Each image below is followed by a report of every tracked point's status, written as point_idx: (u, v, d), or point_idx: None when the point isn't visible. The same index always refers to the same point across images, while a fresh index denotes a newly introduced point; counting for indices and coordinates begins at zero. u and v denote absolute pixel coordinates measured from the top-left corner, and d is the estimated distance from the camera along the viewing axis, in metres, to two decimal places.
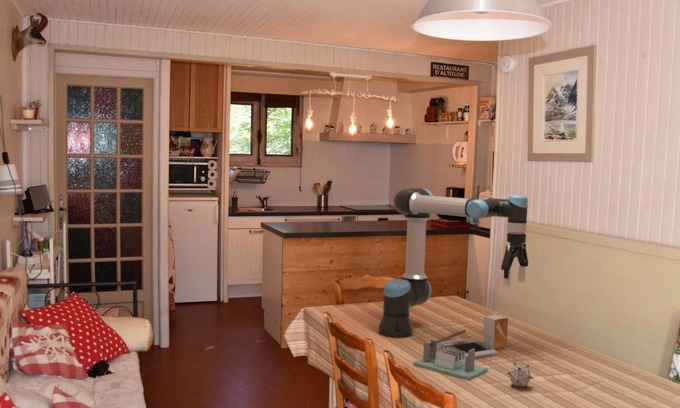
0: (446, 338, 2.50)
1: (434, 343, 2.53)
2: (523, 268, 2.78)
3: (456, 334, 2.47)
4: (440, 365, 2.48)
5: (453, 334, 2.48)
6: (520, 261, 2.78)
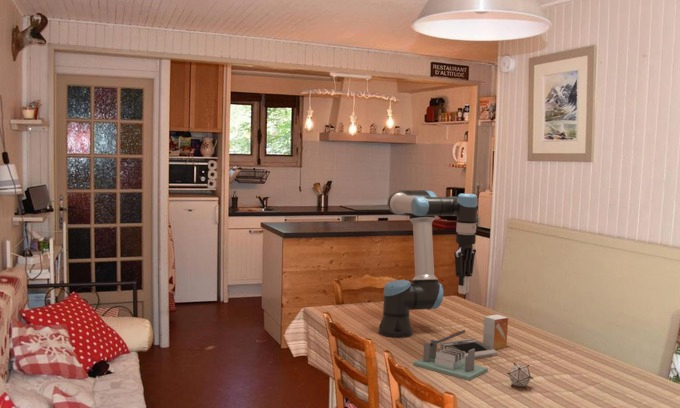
0: (446, 338, 2.50)
1: (434, 343, 2.53)
2: (467, 278, 2.60)
3: (456, 334, 2.47)
4: (440, 365, 2.48)
5: (453, 334, 2.48)
6: (465, 268, 2.61)
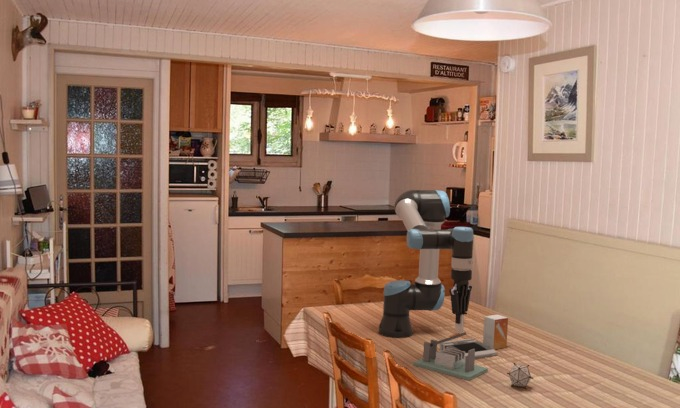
0: (446, 339, 2.49)
1: (434, 343, 2.53)
2: None
3: (457, 336, 2.47)
4: (440, 365, 2.48)
5: (454, 336, 2.47)
6: None
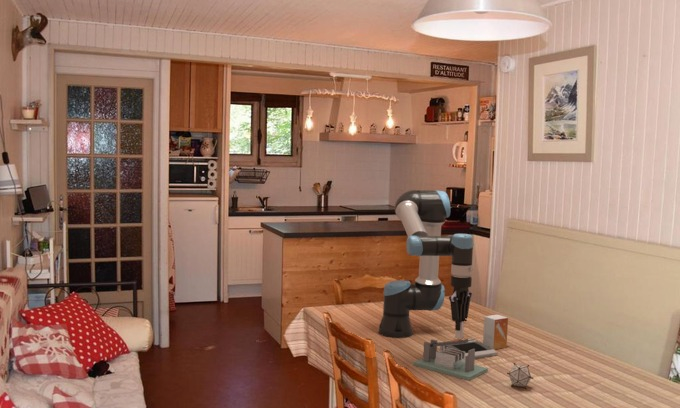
0: (448, 343, 2.49)
1: (435, 345, 2.53)
2: None
3: (459, 342, 2.46)
4: (440, 365, 2.48)
5: (456, 341, 2.47)
6: None
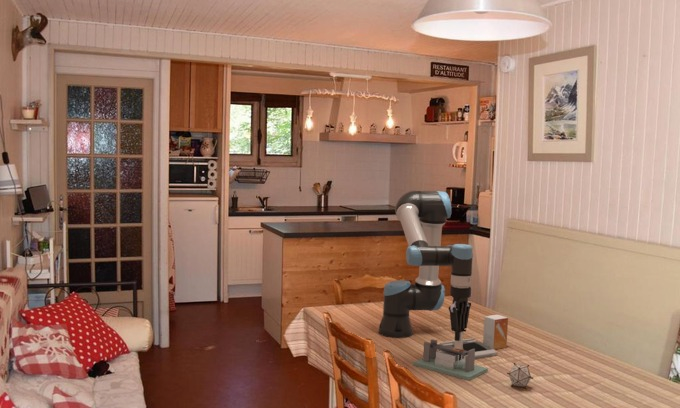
0: (448, 350, 2.49)
1: (435, 347, 2.53)
2: None
3: (460, 353, 2.46)
4: (440, 365, 2.48)
5: (457, 351, 2.47)
6: None
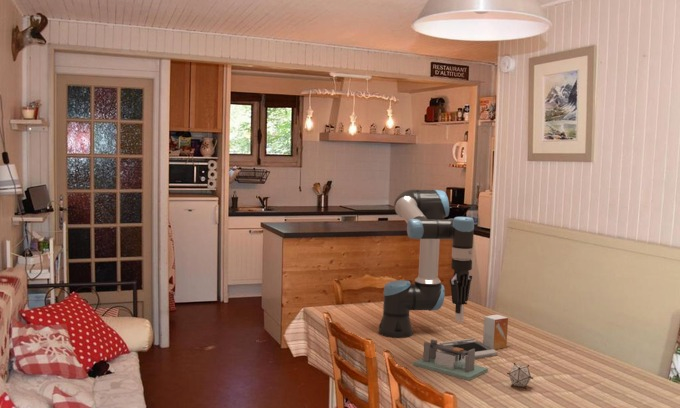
0: (448, 350, 2.49)
1: (435, 347, 2.53)
2: None
3: (460, 353, 2.46)
4: (440, 365, 2.48)
5: (457, 351, 2.47)
6: None
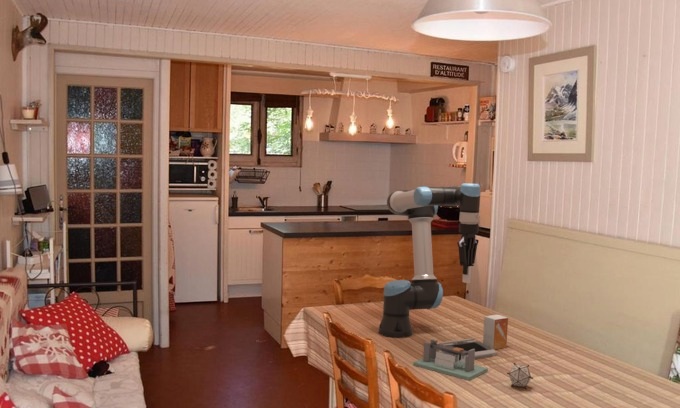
0: (448, 350, 2.49)
1: (435, 347, 2.53)
2: None
3: (460, 353, 2.46)
4: (440, 365, 2.48)
5: (457, 351, 2.47)
6: None
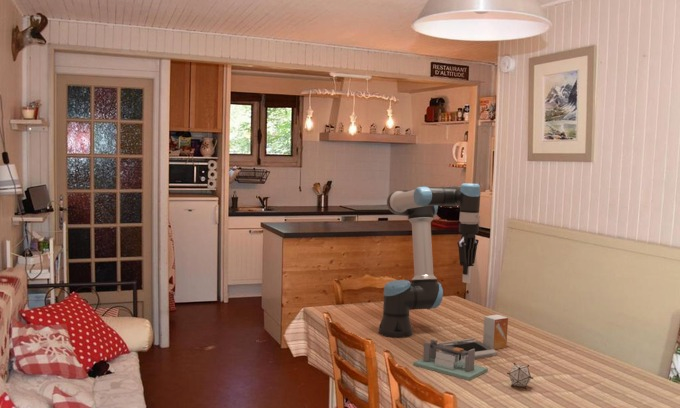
0: (448, 350, 2.49)
1: (435, 347, 2.53)
2: None
3: (460, 353, 2.46)
4: (440, 365, 2.48)
5: (457, 351, 2.47)
6: None
